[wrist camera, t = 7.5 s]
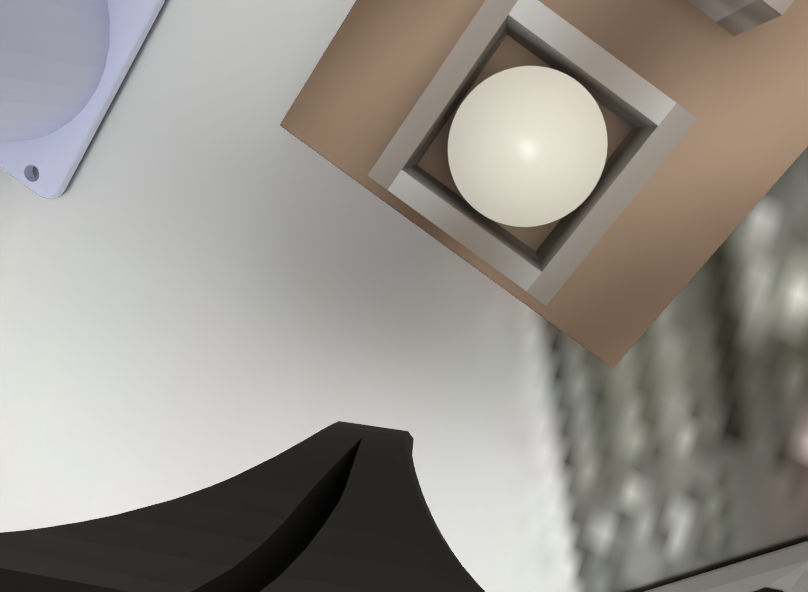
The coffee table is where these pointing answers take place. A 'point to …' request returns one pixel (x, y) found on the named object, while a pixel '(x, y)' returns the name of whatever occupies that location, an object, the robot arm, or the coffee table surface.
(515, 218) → the plug cream
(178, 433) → the coffee table surface
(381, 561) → the robot arm
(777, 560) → the electrical switch
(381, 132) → the panel
